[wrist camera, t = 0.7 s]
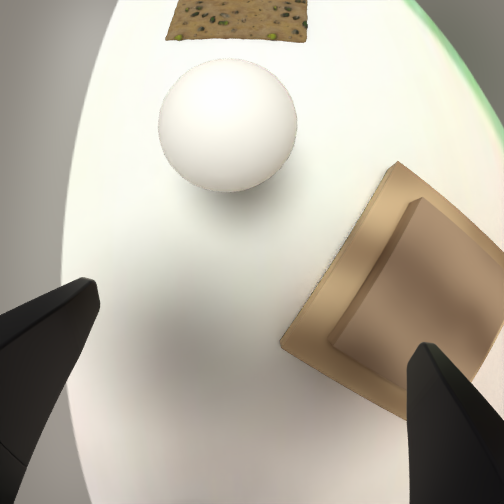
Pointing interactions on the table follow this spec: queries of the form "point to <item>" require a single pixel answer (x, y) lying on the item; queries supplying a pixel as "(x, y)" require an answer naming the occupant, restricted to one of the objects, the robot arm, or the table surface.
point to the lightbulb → (227, 125)
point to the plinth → (352, 276)
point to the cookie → (240, 20)
